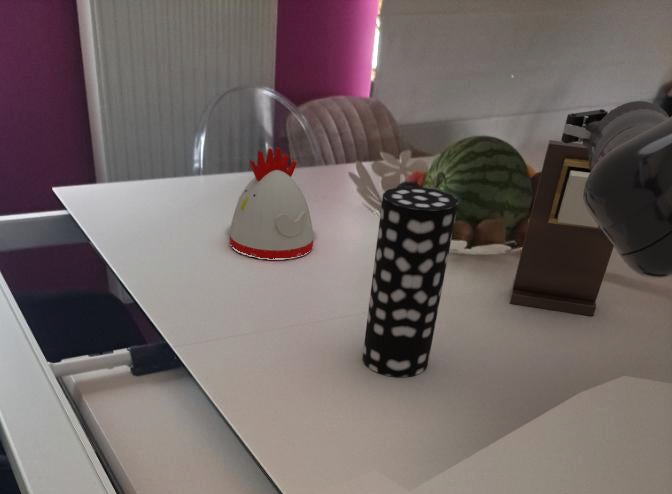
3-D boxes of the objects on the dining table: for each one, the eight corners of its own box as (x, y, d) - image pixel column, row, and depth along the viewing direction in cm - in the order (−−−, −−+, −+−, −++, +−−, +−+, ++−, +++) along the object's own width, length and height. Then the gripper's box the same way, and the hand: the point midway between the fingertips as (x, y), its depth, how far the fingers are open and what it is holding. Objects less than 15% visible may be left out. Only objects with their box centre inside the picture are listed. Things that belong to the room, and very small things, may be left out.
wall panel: (511, 288, 114) (549, 136, 101) (591, 300, 112) (641, 147, 98) (509, 303, 110) (549, 146, 96) (593, 316, 108) (645, 158, 94)
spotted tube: (348, 357, 94) (367, 194, 81) (392, 339, 99) (416, 182, 86) (397, 384, 90) (424, 215, 77) (440, 364, 94) (473, 201, 81)
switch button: (557, 216, 101) (570, 170, 97) (597, 222, 100) (611, 175, 96) (557, 222, 99) (570, 175, 95) (597, 227, 98) (612, 180, 94)
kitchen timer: (215, 238, 125) (213, 141, 115) (283, 226, 131) (287, 133, 121) (258, 266, 116) (260, 164, 107) (328, 252, 122) (337, 154, 113)
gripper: (727, 118, 65) (698, 84, 78) (572, 101, 67) (568, 71, 80) (693, 206, 69) (671, 161, 82) (549, 188, 72) (549, 146, 85)
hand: (620, 117), depth 81 cm, fingers closed
